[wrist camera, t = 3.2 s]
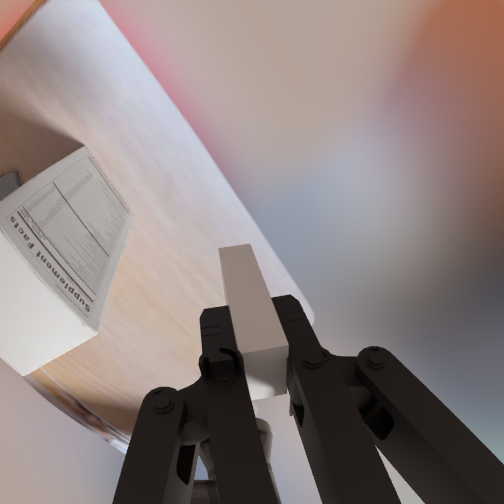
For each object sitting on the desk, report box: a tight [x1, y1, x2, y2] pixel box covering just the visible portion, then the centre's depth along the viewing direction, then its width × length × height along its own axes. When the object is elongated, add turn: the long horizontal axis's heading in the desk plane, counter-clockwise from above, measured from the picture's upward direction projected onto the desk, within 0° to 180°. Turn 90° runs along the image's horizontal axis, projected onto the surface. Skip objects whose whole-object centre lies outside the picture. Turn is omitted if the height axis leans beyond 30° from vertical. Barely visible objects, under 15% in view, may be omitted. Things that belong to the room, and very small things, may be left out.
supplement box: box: [0, 146, 135, 376], centre depth 20 cm, size 10×9×17 cm
